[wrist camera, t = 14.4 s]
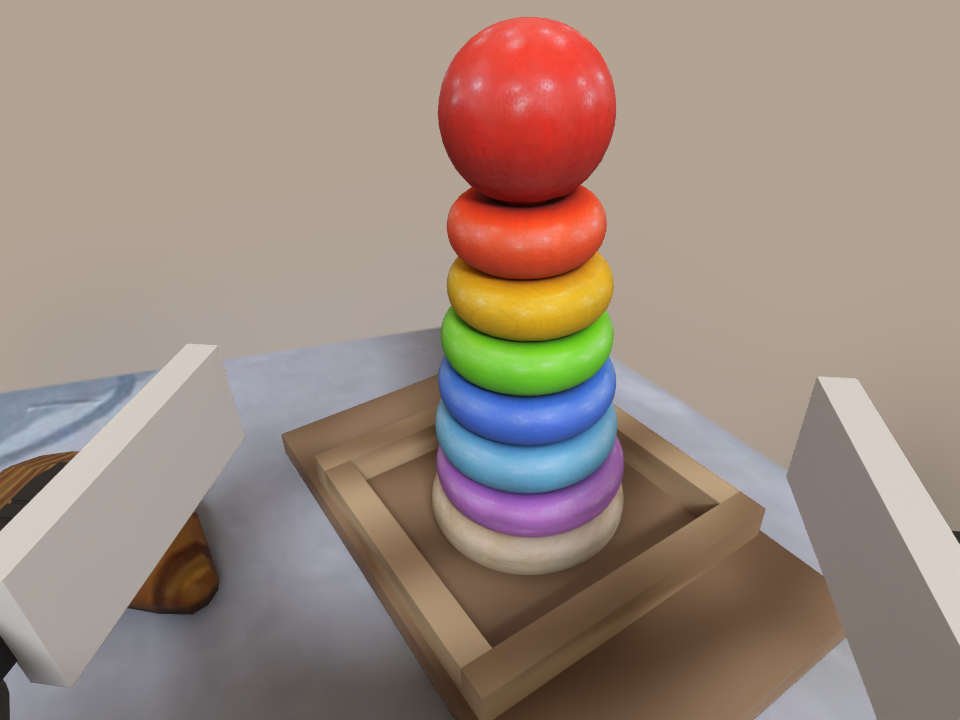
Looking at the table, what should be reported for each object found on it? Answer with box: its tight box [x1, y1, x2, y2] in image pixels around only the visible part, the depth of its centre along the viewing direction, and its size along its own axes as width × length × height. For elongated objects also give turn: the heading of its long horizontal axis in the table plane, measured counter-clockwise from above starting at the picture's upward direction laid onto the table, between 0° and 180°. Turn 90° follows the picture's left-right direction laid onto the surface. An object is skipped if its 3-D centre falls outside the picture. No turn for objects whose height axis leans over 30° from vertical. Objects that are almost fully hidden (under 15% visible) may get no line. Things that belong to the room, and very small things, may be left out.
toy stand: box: [282, 375, 846, 720], centre depth 28 cm, size 22×14×3 cm, turn 34°
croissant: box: [0, 452, 218, 614], centre depth 27 cm, size 14×7×5 cm, turn 61°
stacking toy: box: [432, 17, 624, 575], centre depth 23 cm, size 8×8×19 cm
